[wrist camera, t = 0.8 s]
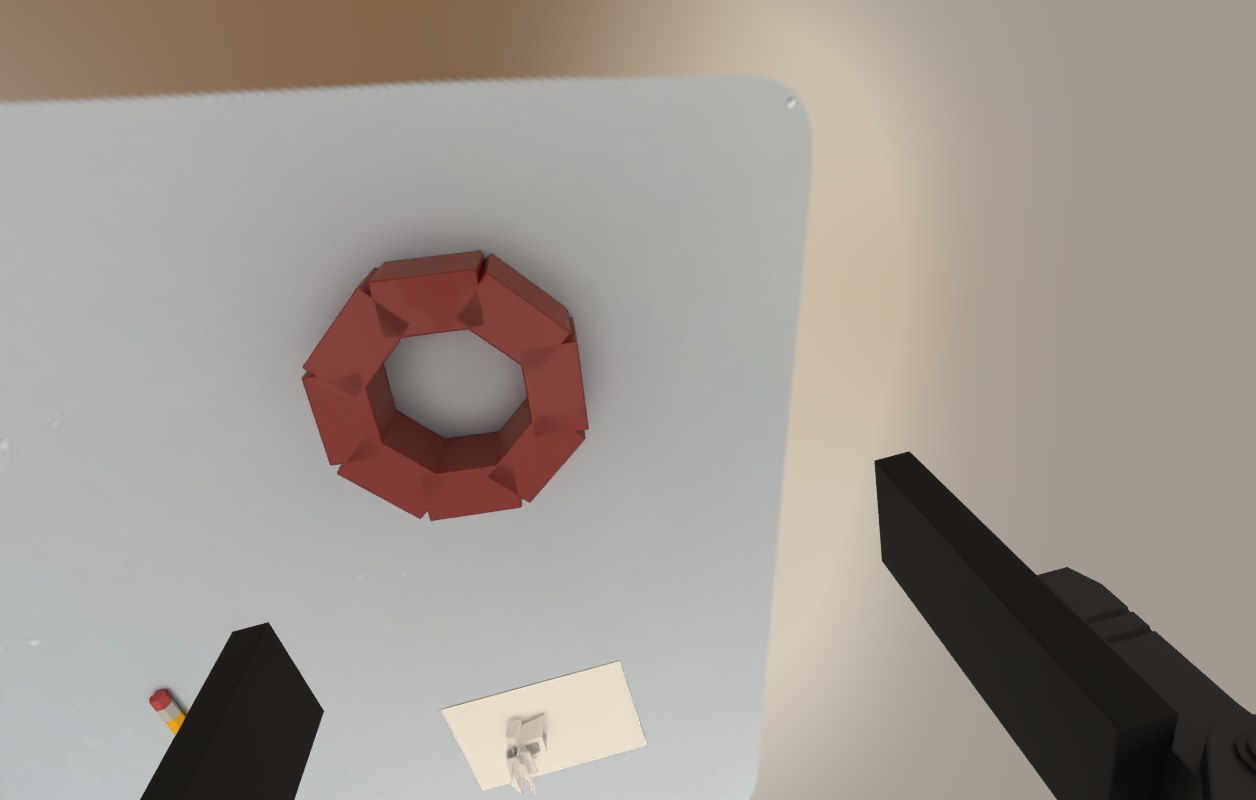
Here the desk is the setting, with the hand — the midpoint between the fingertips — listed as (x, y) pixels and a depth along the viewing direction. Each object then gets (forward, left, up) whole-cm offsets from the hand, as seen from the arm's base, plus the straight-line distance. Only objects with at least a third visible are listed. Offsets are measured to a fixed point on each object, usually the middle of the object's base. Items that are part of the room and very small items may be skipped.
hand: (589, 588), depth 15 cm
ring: (+3, -4, -16) cm, 16 cm away
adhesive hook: (+23, +5, -16) cm, 28 cm away
